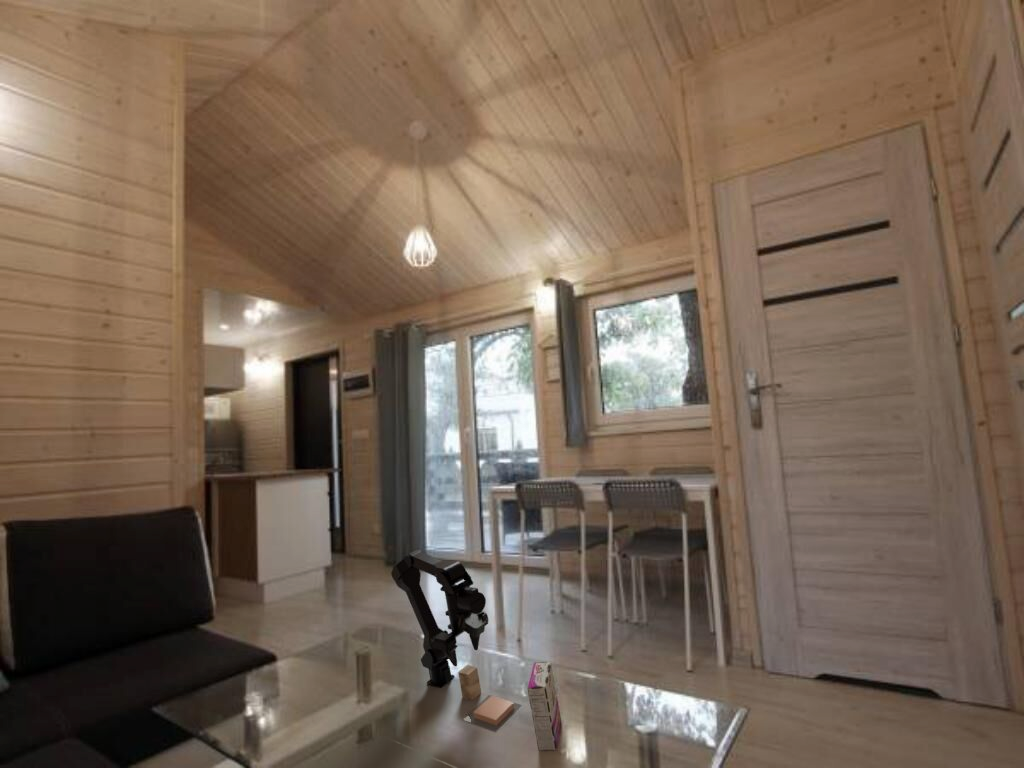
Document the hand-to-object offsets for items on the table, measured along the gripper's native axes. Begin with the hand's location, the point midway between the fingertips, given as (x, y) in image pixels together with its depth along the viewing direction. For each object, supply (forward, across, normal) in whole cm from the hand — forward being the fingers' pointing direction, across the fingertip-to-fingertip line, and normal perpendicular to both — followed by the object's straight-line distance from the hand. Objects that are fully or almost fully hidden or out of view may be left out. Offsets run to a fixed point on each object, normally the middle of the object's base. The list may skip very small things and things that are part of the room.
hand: (466, 657), depth 163 cm
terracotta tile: (+10, -4, -8) cm, 14 cm away
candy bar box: (+12, -5, -31) cm, 33 cm away
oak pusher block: (+12, 0, 0) cm, 12 cm away
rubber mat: (+12, -4, -11) cm, 16 cm away
